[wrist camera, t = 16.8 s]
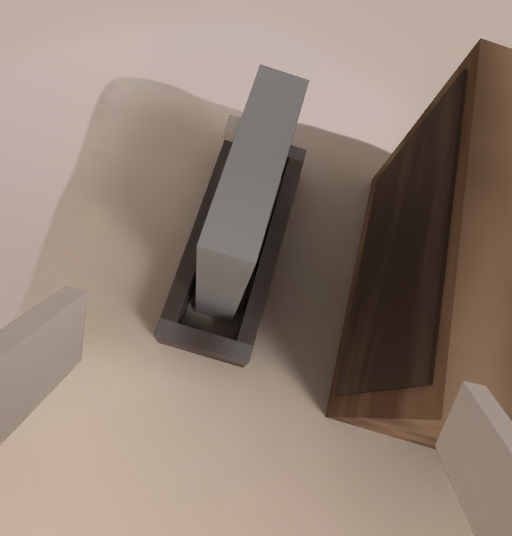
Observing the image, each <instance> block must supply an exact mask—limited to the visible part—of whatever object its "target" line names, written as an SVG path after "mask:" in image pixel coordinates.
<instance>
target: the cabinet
mask: <svg viewBox="0 0 512 536" xmlns="http://www.w3.org/2000/svg"><path fill="white" fill-rule="evenodd" d="M232 144H233V142H231V141H228V140H224V143H223V146H222V149H221V151H220V154H219V157H218V160H217V162H216V165H215V168H214V171H213V173H212V176H211V179H210V182H209V185H208V187H207V190H206V193H205V196H204V198H203V201H202V204H201V207H200V209H199V212H198V215H197V218H196V221H195V223H194V226H193V229H192V232H191V234H190V237H189V240H188V243H187V245H186V248H185V251H184V254H183V257H182V259H181V262H180V265H179V268H178V270H177V273H176V276H175V279H174V281H173V284H172V287H171V290H170V293H169V295H168V298H167V301H166V304H165V306H164V309H163V312H162V315H161V317H160V320H159V323H158V326H157V329H156V331H155V334H154V335H155V337H156V339H157V341H158V342H159V343H162V344H165V345H169V346H172V347H175V348H179V349H182V350H186V351H189V352H192V353H196V354H199V355H203V356H206V357H209V358H213V359H216V360H219V361H223V362H226V363H230V364H233V365H236V366H240V367H244V366H245V365H247V364H248V363H249V360H250V356H251V353H252V349H253V345H254V342H255V338H256V334H257V331H258V327H259V323H260V320H261V316H262V312H263V309H264V305H265V301H266V297H267V294H268V290H269V286H270V283H271V279H272V275H273V272H274V268H275V264H276V261H277V257H278V253H279V250H280V246H281V242H282V239H283V235H284V231H285V228H286V224H287V220H288V217H289V213H290V209H291V206H292V202H293V198H294V195H295V191H296V187H297V183H298V180H299V176H300V172H301V169H302V165H303V161H304V158H305V154H306V150H304V149H301V148H298V147H295V146H292V145H290V148H289V152H288V155H287V159H286V162H285V165H284V169H283V172H282V176H281V183H280V186H279V190H278V193H277V197H276V200H275V204H274V207H273V211H272V214H271V217H270V221H269V224H268V228H267V231H266V235H265V238H264V242H263V245H262V249H261V252H260V255H259V259H258V262H257V266H256V269H255V273H254V276H253V280H252V283H251V287H250V290H249V294H248V297H247V300H246V304H245V307H244V311H243V314H242V318H241V321H240V325H239V328H238V332H237V335H236V338H235V340H232V339H229V338H226V337H222V336H219V335H216V334H212V333H209V332H206V331H202V330H199V329H195V328H192V327H189V326H185V325H182V324H181V323H182V320H183V317H184V314H185V311H186V309H187V306H188V303H189V300H190V297H191V294H192V291H193V288H194V285H195V282H196V257H197V244H198V241H199V238H200V235H201V232H202V229H203V226H204V224H205V221H206V218H207V215H208V212H209V209H210V206H211V204H212V201H213V198H214V195H215V192H216V189H217V186H218V184H219V181H220V178H221V175H222V172H223V169H224V166H225V164H226V161H227V158H228V155H229V152H230V149H231V146H232ZM463 381H467V382H471V383H475V384H479V385H483V386H486V387H487V388H488V390H489V391H490V392H491V394H492V395H493V396H494V398H495V399H496V400H497V402H498V403H499V405H500V406H501V407H502V409H503V410H504V411H505V413H506V414H507V415H508V417H509V418H510V419H511V421H512V49H511V48H508V47H505V46H502V45H499V44H496V43H493V42H490V41H487V40H484V39H480V40H479V42H477V44H476V45H475V46H474V48H473V49H472V50H471V52H470V53H469V54H468V56H467V57H466V58H465V60H464V61H463V62H462V63H461V65H460V66H459V67H458V69H457V70H456V71H455V72H454V74H453V75H452V76H451V78H450V79H449V80H448V82H447V83H446V84H445V86H444V87H443V88H442V89H441V91H440V92H439V93H438V95H437V96H436V97H435V98H434V100H433V101H432V103H431V104H430V105H429V106H428V108H427V109H426V110H425V112H424V113H423V114H422V115H421V117H420V118H419V120H418V121H417V122H416V123H415V125H414V126H413V127H412V129H411V130H410V131H409V132H408V134H407V135H406V136H405V138H404V139H403V140H402V142H401V143H400V144H399V146H398V147H397V148H396V149H395V151H394V152H393V153H392V155H391V156H390V157H389V158H388V160H387V161H386V162H385V164H384V165H383V166H382V168H381V169H380V170H379V172H378V173H377V174H376V175H375V177H374V178H373V179H372V184H371V189H370V195H369V200H368V205H367V210H366V215H365V220H364V225H363V230H362V235H361V240H360V245H359V250H358V255H357V260H356V265H355V271H354V276H353V281H352V286H351V291H350V296H349V301H348V306H347V311H346V316H345V321H344V326H343V331H342V336H341V342H340V347H339V352H338V357H337V362H336V367H335V372H334V377H333V382H332V387H331V392H330V397H329V402H328V407H327V413H326V417H328V418H331V419H335V420H338V421H341V422H345V423H348V424H352V425H355V426H359V427H362V428H365V429H369V430H372V431H376V432H379V433H382V434H386V435H389V436H393V437H396V438H400V439H403V440H406V441H410V442H413V443H417V444H420V445H424V446H427V447H430V448H434V449H436V446H435V444H436V442H437V440H438V438H439V435H440V433H441V431H442V428H443V426H444V424H445V422H446V419H447V417H448V415H449V412H450V410H451V408H452V406H453V403H454V401H455V399H456V396H457V394H458V392H459V390H460V387H461V385H462V383H463Z"/></svg>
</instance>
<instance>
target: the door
mask: <svg viewBox="0 0 512 536" xmlns="http://www.w3.org/2000/svg"><path fill="white" fill-rule="evenodd" d="M308 82H309V80H306V79H303V78H300V77H297V76H294V75H291V74H287V73H285V72H282V71H279V70H276V69H272V68H269V67H266V66H263V65H260V67H259V70H258V72H257V76H256V78H255V81H254V84H253V87H252V90H251V92H250V95H249V98H248V101H247V104H246V107H245V109H244V112H243V115H242V118H237V117H234V116H231V115H230V117H229V119H228V122H227V125H226V129H225V134H224V140H228V141H231V142H233V144H232V146H231V149H230V152H229V155H228V158H227V161H226V164H225V166H224V169H223V172H222V175H221V178H220V181H219V184H218V186H217V189H216V192H215V195H214V198H213V201H212V204H211V206H210V209H209V212H208V215H207V218H206V221H205V224H204V226H203V229H202V232H201V235H200V238H199V241H198V244H197V257H196V310H195V311H196V312H199V313H202V314H206V315H209V316H212V317H216V318H219V319H222V320H226V321H229V322H232V320H233V318H234V315H235V313H236V311H237V308H238V306H239V303H240V301H241V299H242V296H243V294H244V291H245V289H246V287H247V284H248V282H249V280H250V277H251V275H252V272H253V270H254V268H255V265H256V262H257V259H258V255H259V252H260V248H261V245H262V242H263V238H264V235H265V231H266V228H267V224H268V221H269V217H270V214H271V210H272V207H273V204H274V200H275V197H276V193H277V190H278V186H279V183H280V179H281V176H282V172H283V169H284V165H285V162H286V159H287V155H288V152H289V148H290V145H291V141H292V138H293V134H294V131H295V127H296V124H297V121H298V117H299V114H300V110H301V107H302V103H303V100H304V96H305V93H306V89H307V86H308Z"/></svg>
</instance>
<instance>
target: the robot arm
mask: <svg viewBox="0 0 512 536" xmlns="http://www.w3.org/2000/svg"><path fill="white" fill-rule="evenodd" d="M86 301H87V291H83V290H79V289H74V288H70V287H64V288H63V289H61V290H60V291H58V292H57V293H55V294H54V295H52V296H51V297H49V298H48V299H46V300H45V301H43V302H42V303H40V304H39V305H37V306H36V307H34V308H33V309H31V310H30V311H28V312H27V313H25V314H24V315H22V316H21V317H19V318H18V319H16V320H15V321H13V322H12V323H10V324H9V325H7V326H6V327H4V328H3V329H1V330H0V445H1V444H2V443H3V442H4V441H5V440H6V439H7V438H8V437H9V436H10V435H11V434H12V432H13V431H14V430H15V429H16V428H17V427H18V426H19V425H20V424H21V423H22V422H23V421H24V420H25V419H26V418H27V417H28V416H29V415H30V414H31V412H32V411H33V410H34V409H35V408H36V407H37V406H38V405H39V404H40V403H41V402H42V401H43V400H44V399H45V398H46V397H47V396H48V395H49V394H50V392H51V391H52V390H53V389H54V388H55V387H56V386H57V385H58V384H59V383H60V382H61V381H62V380H63V379H64V378H65V377H66V376H67V375H68V374H69V372H70V371H71V370H72V369H73V368H74V367H75V366H76V365H77V364H78V363H79V362H80V361H81V359H82V347H83V336H84V324H85V313H86ZM435 446H436V449H437V451H438V453H439V455H440V458H441V460H442V462H443V465H444V467H445V469H446V471H447V474H448V476H449V478H450V481H451V483H452V485H453V487H454V490H455V492H456V494H457V497H458V499H459V501H460V503H461V506H462V508H463V510H464V513H465V515H466V517H467V519H468V522H469V524H470V526H471V529H472V531H473V533H474V535H475V536H512V421H511V419H510V418H509V417H508V415H507V414H506V413H505V411H504V410H503V409H502V407H501V406H500V405H499V403H498V402H497V400H496V399H495V398H494V396H493V395H492V394H491V392H490V391H489V390H488V388H487V387H486V386H483V385H479V384H475V383H471V382H467V381H463V383H462V385H461V387H460V390H459V392H458V394H457V396H456V399H455V401H454V403H453V406H452V408H451V410H450V412H449V415H448V417H447V419H446V422H445V424H444V426H443V428H442V431H441V433H440V435H439V438H438V440H437V442H436V444H435Z"/></svg>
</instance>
